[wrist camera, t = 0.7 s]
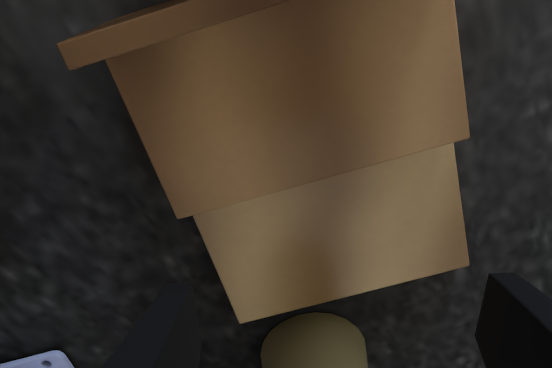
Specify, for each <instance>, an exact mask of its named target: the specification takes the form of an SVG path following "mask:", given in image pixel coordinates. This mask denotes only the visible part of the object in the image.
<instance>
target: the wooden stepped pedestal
mask: <svg viewBox="0 0 552 368" xmlns="http://www.w3.org/2000/svg"><path fill="white" fill-rule="evenodd" d="M57 47H58V49H59V51H60V53H61V55H62V57H63V59H64V61H65V64H66V66H67V68H68V69H69V70H74V69H78V68H81V67H84V66H87V65H90V64H93V63H96V62H100V61H103V60H105V61H106V64H107V66H108V68H109V70H110V72H111V75H112V77H113V79H114V81H115V83H116V86H117V88H118V90H119V92H120V94H121V97H122V99H123V101H124V103H125V105H126V108H127V110H128V112H129V114H130V116H131V119H132V121H133V123H134V125H135V127H136V130H137V132H138V134H139V136H140V138H141V141H142V143H143V145H144V147H145V149H146V152H147V154H148V156H149V158H150V160H151V163H152V165H153V167H154V169H155V171H156V174H157V176H158V178H159V180H160V182H161V185H162V187H163V189H164V191H165V193H166V196H167V198H168V200H169V202H170V204H171V207H172V209H173V211H174V213H175V215H176V218H177V219H182V218H185V217H189V216H192V215H193V218H194V220H195V222H196V225H197V227H198V229H199V232H200V234H201V236H202V238H203V241H204V243H205V245H206V248H207V250H208V252H209V255H210V257H211V259H212V261H213V264H214V266H215V268H216V271H217V273H218V275H219V278H220V280H221V282H222V284H223V287H224V289H225V291H226V294H227V296H228V298H229V300H230V303H231V305H232V307H233V310H234V312H235V314H236V317H237V319H238V321H239V323H240V324H241V323H245V322H249V321H253V320H257V319H261V318H265V317H269V316H273V315H277V314H281V313H285V312H289V311H293V310H297V309H301V308H304V307H308V306H312V305H316V304H320V303H324V302H328V301H332V300H336V299H340V298H344V297H348V296H352V295H356V294H360V293H364V292H368V291H372V290H376V289H379V288H383V287H387V286H391V285H395V284H399V283H403V282H407V281H411V280H415V279H419V278H423V277H427V276H431V275H435V274H439V273H443V272H447V271H450V270H454V269H458V268H462V267H466V266H469V257H468V250H467V242H466V234H465V227H464V219H463V212H462V204H461V197H460V189H459V181H458V174H457V166H456V159H455V151H454V144H453V143H454V142H457V141H461V140H464V139H468V138H470V133H469V124H468V116H467V107H466V98H465V89H464V81H463V72H462V63H461V54H460V46H459V37H458V28H457V19H456V11H455V2H454V0H170V1H166V2H163V3H160V4H157V5H154V6H151V7H148V8H145V9H142V10H139V11H136V12H133V13H130V14H127V15H124V16H121V17H118V18H115V19H112V20H110V21H108V22H105V23H103V24H101V25H98V26H96V27H94V28H91V29H89V30H87V31H84V32H82V33H80V34H77V35H75V36H73V37H70V38H68V39H66V40H63V41H61V42H59V43H57Z"/></svg>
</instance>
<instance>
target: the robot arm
mask: <svg viewBox="0 0 552 368" xmlns="http://www.w3.org/2000/svg"><path fill="white" fill-rule="evenodd" d="M475 337H476V340H477V343H478V346H479V349H480V352H481V355H482V358H483V361H484V363H485V366H486V368H552V300H551V299H550V298H549V297H547V296H546V295H545V294H543V293H542V292H541V291H539V290H538V289H537V288H535V287H534V286H533V285H531V284H530V283H528V282H527V281H526V280H524V279H523V278H521V277H520V276H518V275H517V274H515V273H491V274H489V276H488V280H487V284H486V289H485V293H484V298H483V302H482V306H481V311H480V315H479V320H478V324H477V328H476V333H475ZM201 344H202V343H201V336H200V330H199V323H198V317H197V310H196V304H195V297H194V291H193V284H192V283H167V284H166V285H165V286H164V287H163V289H162V290H161V291H160V293H159V294H158V296H157V297H156V298H155V300H154V301H153V303H152V304H151V305H150V307H149V308H148V309H147V311H146V312H145V313H144V315H143V316H142V317H141V319H140V320H139V321H138V323H137V324H136V325H135V327H134V328H133V329H132V330H131V332H130V333H129V334H128V335H127V337H126V338H125V339H124V340H123V342H122V343H121V344H120V345H119V347H118V348H117V349H116V350H115V351H114V353H113V354H112V355H111V356H110V357H109V358H108V359H107V361H106V362H105V363H104V364H103V365H102V366H101V367H100V368H199V363H200V354H201ZM48 361H49V362H48ZM0 368H74V367H73V365H72V364H71V362H70V361H69V359H68V358H67V356H66V355H65V354H64V353H63V352H61V351H58V350H54V351H49V352H45V353H42V354H38V355H34V356H30V357H26V358H22V359H18V360H14V361H11V362H7V363H3V364H0Z"/></svg>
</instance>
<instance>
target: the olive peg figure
mask: <svg viewBox="0 0 552 368" xmlns="http://www.w3.org/2000/svg"><path fill="white" fill-rule="evenodd" d="M260 356H261V362H262V367H263V368H368V364H367V355H366V346H365V339H364V337H363V336H362V334H361V332H360V331H359V329H358V328H357V327H356V326H355V325H353V324H352V323H351V322H350V321H348V320H347V319H345V318H342V317H339V316H337V315H334V314H330V313H318V312H312V313H306V314H300V315H296V316H294V317H291V318H289V319H287V320H284V321H282V322H281V323H279V324H278V325H277V326H276V327H275V328H273V329H272V330H271V331H270V332H269V333H268V335H267V337H266V338H265V340H264V342H263V343H262V349H261V355H260Z"/></svg>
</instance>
